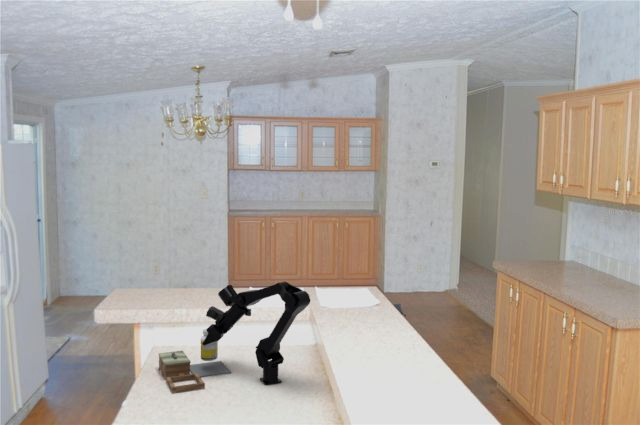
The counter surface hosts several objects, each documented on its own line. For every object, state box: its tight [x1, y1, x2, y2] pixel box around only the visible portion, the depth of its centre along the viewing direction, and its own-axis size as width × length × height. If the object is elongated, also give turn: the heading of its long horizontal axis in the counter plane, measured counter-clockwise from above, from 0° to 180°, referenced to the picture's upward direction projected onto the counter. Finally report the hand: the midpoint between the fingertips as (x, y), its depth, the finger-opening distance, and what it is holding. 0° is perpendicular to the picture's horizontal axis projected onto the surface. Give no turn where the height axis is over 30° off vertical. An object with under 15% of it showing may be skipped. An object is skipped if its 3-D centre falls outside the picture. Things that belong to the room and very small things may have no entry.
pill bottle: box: [200, 328, 219, 362], centre depth 213 cm, size 6×6×12 cm
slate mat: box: [190, 360, 232, 379], centre depth 214 cm, size 14×14×1 cm
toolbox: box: [158, 350, 206, 394], centre depth 204 cm, size 28×11×7 cm, turn 26°
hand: (205, 342), depth 213 cm, fingers closed on pill bottle, 6 cm apart
